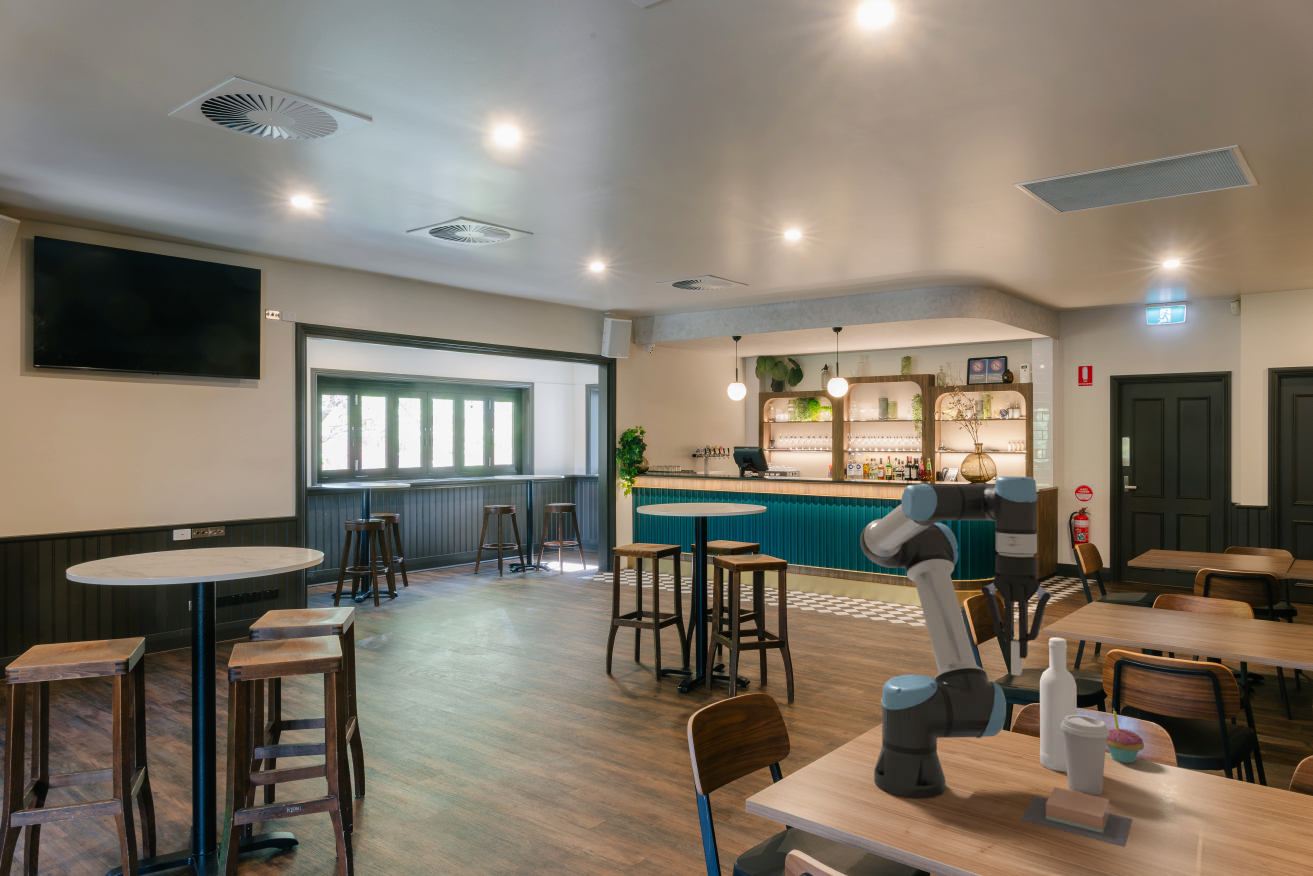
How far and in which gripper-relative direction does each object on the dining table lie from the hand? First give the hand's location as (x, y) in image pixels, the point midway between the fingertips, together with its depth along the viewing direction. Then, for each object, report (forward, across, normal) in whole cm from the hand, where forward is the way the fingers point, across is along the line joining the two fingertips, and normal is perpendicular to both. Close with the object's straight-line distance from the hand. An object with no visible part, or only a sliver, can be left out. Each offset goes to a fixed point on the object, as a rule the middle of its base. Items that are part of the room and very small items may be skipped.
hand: (1016, 673), depth 155 cm
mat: (+30, +9, +10) cm, 33 cm away
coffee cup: (+31, +8, +29) cm, 43 cm away
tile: (+28, +9, +7) cm, 30 cm away
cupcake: (+31, +13, +54) cm, 63 cm away
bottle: (+31, +1, +40) cm, 50 cm away
